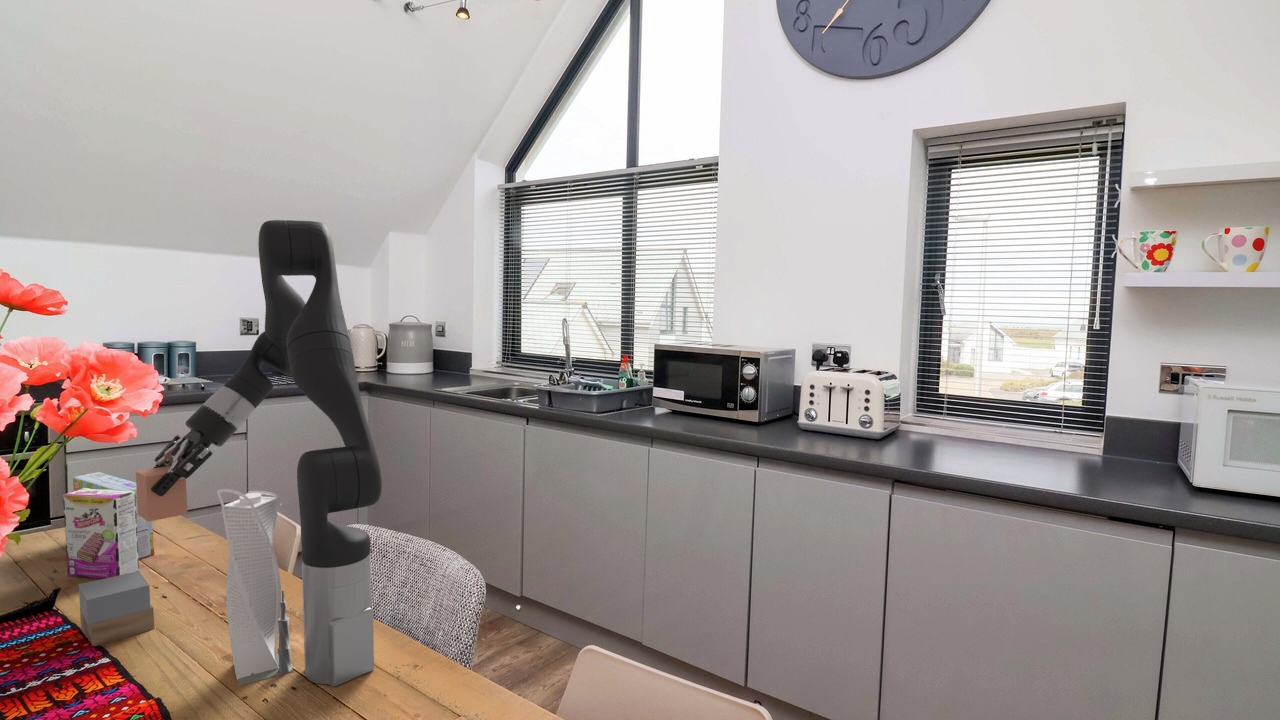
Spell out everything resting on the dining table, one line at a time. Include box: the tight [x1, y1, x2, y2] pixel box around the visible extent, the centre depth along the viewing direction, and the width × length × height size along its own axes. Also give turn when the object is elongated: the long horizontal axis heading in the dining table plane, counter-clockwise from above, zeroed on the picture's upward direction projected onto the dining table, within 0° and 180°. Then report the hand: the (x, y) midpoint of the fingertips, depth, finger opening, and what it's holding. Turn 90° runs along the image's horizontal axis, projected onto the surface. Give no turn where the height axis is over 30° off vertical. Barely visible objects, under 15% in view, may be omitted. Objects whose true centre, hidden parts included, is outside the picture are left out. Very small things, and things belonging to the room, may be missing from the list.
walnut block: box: [79, 603, 155, 647], centre depth 112 cm, size 8×8×4 cm
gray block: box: [78, 570, 151, 625], centre depth 111 cm, size 8×8×4 cm
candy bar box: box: [62, 488, 140, 580], centre depth 132 cm, size 11×5×16 cm, turn 84°
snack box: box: [72, 471, 155, 561], centre depth 145 cm, size 21×6×15 cm, turn 62°
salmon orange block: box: [135, 466, 188, 522], centre depth 123 cm, size 6×6×8 cm
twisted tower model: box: [216, 488, 294, 687], centre depth 100 cm, size 8×8×28 cm
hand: (150, 489), depth 122 cm, fingers closed on salmon orange block, 6 cm apart
